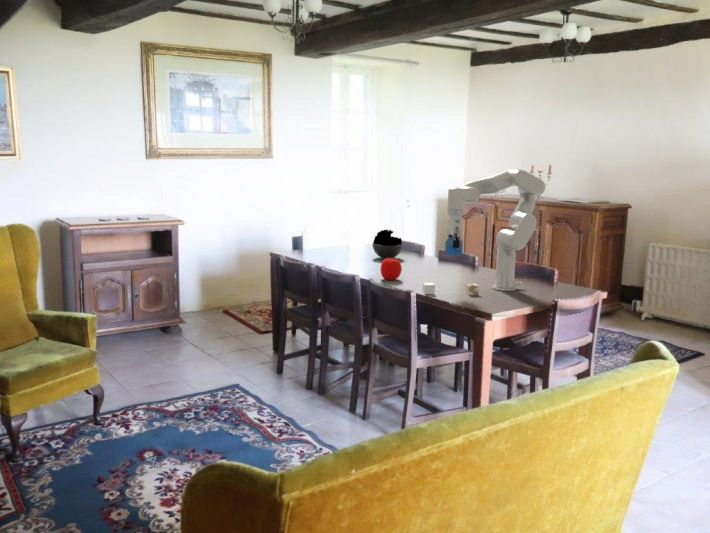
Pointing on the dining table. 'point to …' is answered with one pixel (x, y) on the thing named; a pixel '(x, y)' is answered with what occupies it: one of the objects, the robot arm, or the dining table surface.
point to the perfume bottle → (449, 247)
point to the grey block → (428, 288)
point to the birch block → (472, 289)
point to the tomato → (390, 269)
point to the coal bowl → (387, 244)
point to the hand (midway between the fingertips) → (453, 246)
